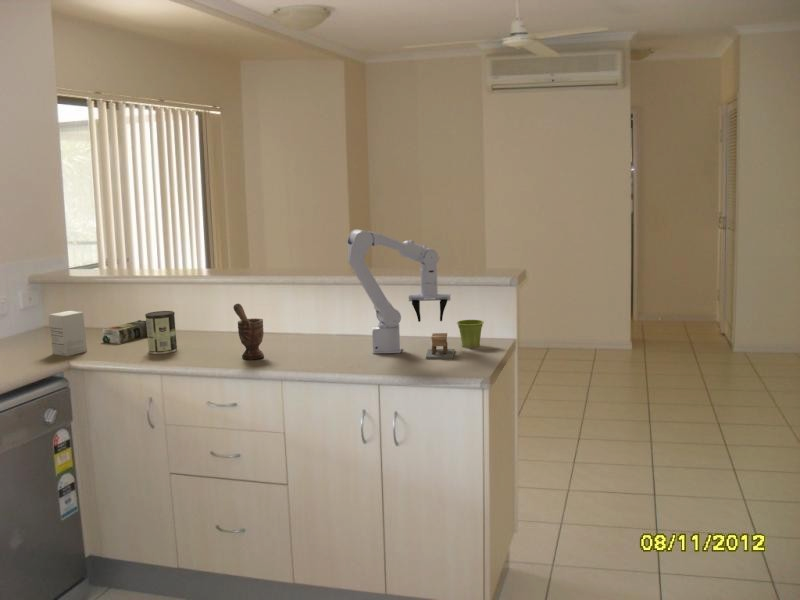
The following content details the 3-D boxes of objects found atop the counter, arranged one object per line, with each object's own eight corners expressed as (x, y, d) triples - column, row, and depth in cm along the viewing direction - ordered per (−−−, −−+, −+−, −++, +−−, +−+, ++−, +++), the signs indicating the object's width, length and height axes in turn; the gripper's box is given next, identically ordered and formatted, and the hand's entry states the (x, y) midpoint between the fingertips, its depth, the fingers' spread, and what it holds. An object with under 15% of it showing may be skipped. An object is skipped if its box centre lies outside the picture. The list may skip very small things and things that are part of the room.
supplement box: (73, 349, 333) (69, 310, 330) (87, 351, 328) (84, 311, 325) (51, 354, 325) (47, 314, 323) (66, 356, 320) (62, 315, 318)
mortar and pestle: (258, 362, 299) (254, 304, 296) (233, 362, 300) (229, 304, 297) (268, 355, 310) (264, 298, 307) (244, 355, 312) (240, 298, 309)
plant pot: (482, 349, 308) (482, 324, 307) (455, 348, 310) (455, 324, 308) (485, 343, 317) (485, 319, 316) (459, 343, 319) (458, 319, 317)
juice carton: (118, 344, 340) (117, 329, 339) (100, 343, 345) (99, 327, 344) (157, 335, 357) (155, 320, 356) (139, 334, 362) (138, 319, 361)
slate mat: (425, 359, 295) (425, 356, 295) (428, 351, 307) (428, 349, 307) (453, 358, 294) (452, 356, 294) (454, 351, 306) (454, 348, 306)
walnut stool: (433, 350, 304) (432, 333, 303) (447, 350, 304) (447, 333, 303) (431, 354, 298) (431, 337, 297) (446, 354, 297) (446, 336, 296)
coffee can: (167, 347, 331) (164, 309, 329) (182, 350, 324) (180, 312, 322) (142, 351, 324) (139, 313, 321) (158, 355, 317) (155, 316, 314)
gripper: (407, 284, 307) (408, 323, 309) (449, 283, 306) (450, 322, 308) (409, 281, 314) (410, 319, 316) (450, 281, 313) (451, 319, 315)
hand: (430, 321), depth 312 cm, fingers open, 7 cm apart
